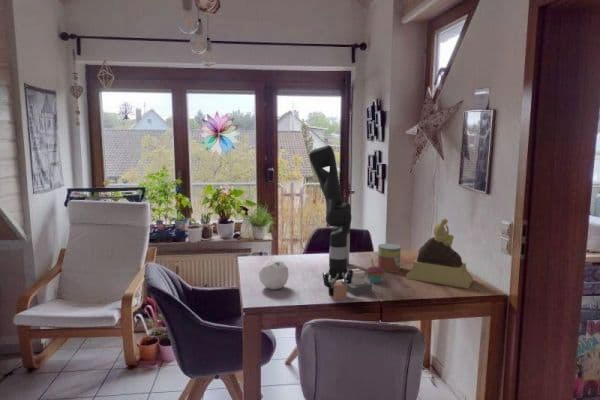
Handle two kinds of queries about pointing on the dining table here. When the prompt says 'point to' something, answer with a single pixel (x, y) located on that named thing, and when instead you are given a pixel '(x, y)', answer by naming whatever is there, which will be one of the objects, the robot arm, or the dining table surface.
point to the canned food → (389, 257)
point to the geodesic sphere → (273, 274)
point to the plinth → (359, 288)
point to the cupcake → (375, 273)
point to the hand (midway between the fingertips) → (337, 294)
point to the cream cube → (358, 277)
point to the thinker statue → (440, 261)
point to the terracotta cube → (339, 291)
